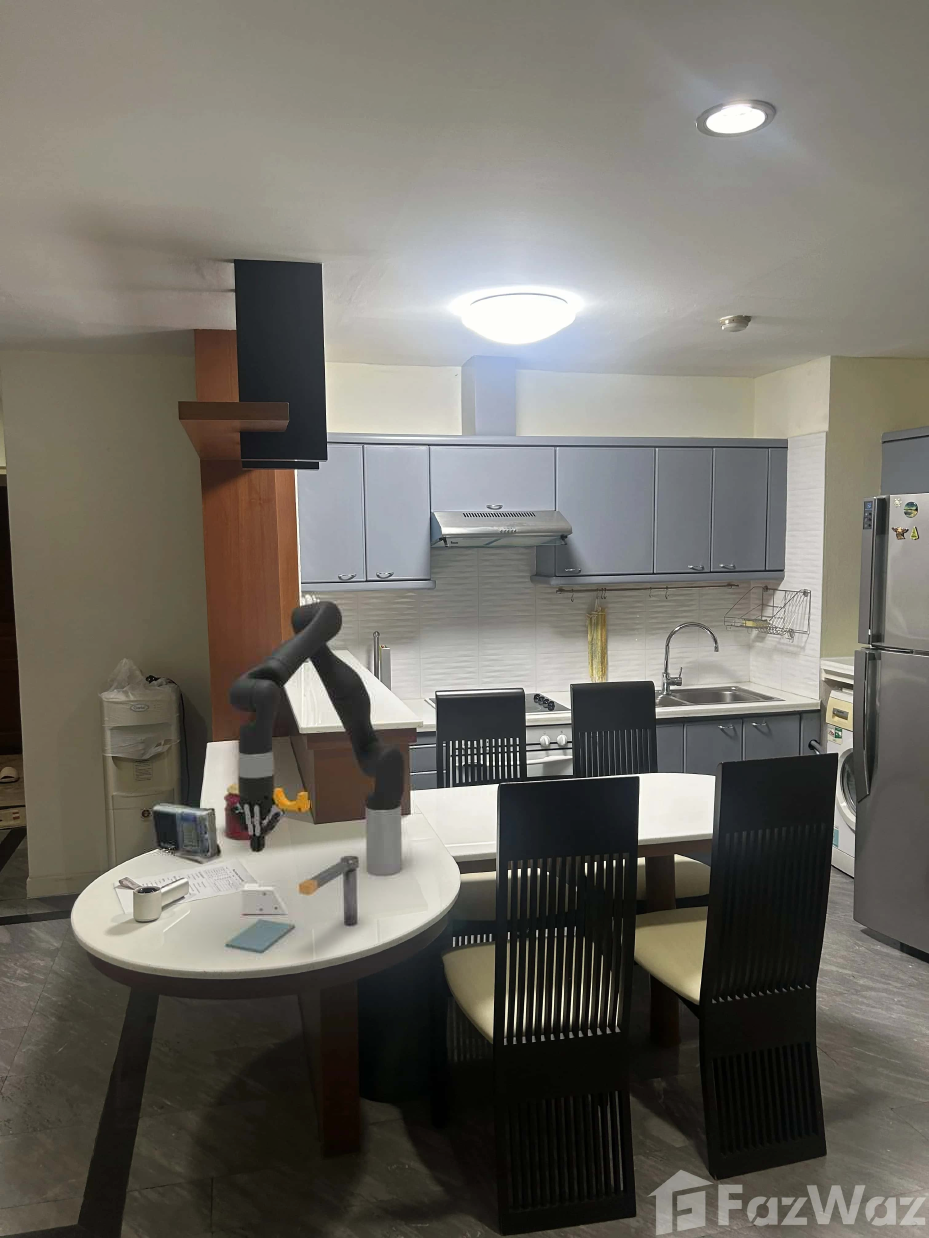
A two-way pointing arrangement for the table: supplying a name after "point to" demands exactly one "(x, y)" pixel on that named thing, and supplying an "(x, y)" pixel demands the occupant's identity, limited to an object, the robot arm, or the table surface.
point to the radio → (187, 832)
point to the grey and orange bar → (328, 875)
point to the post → (350, 897)
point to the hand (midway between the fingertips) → (257, 850)
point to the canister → (232, 826)
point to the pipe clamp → (297, 805)
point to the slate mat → (260, 936)
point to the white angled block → (262, 900)
